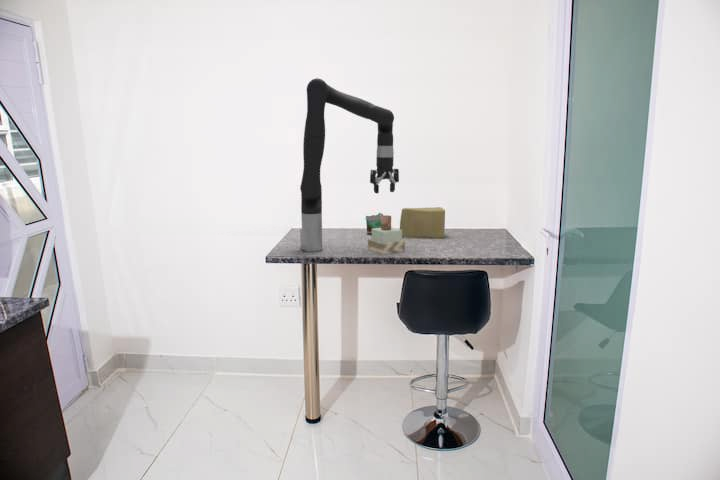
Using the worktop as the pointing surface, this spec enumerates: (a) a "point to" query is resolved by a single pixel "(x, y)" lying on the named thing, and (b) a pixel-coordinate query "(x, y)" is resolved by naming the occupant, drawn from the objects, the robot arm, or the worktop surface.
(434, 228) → the cheese
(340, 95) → the robot arm
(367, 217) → the food container
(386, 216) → the round block
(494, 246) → the worktop surface
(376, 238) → the top block
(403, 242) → the bottom block
